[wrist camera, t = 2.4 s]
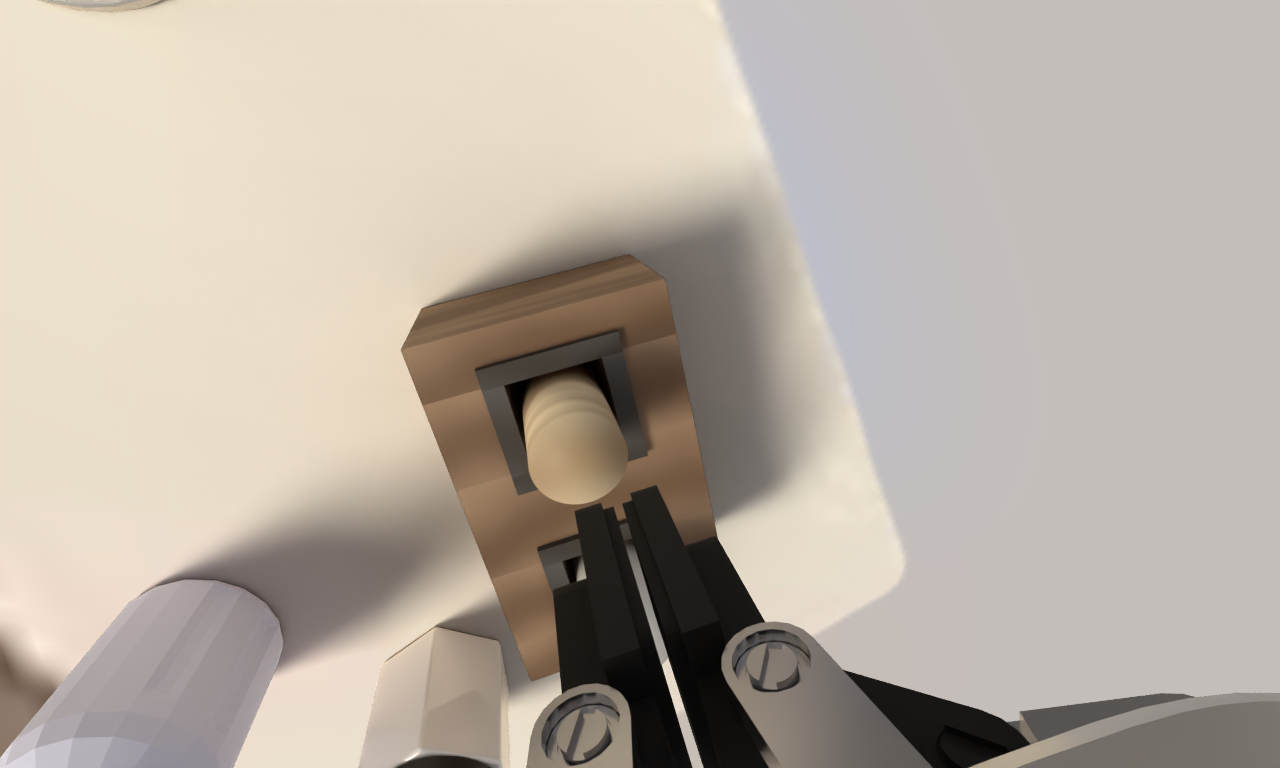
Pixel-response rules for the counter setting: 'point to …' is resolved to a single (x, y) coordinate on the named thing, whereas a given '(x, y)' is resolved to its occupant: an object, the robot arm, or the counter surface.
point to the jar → (440, 706)
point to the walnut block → (494, 429)
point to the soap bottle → (161, 685)
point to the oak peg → (571, 436)
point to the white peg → (638, 574)
